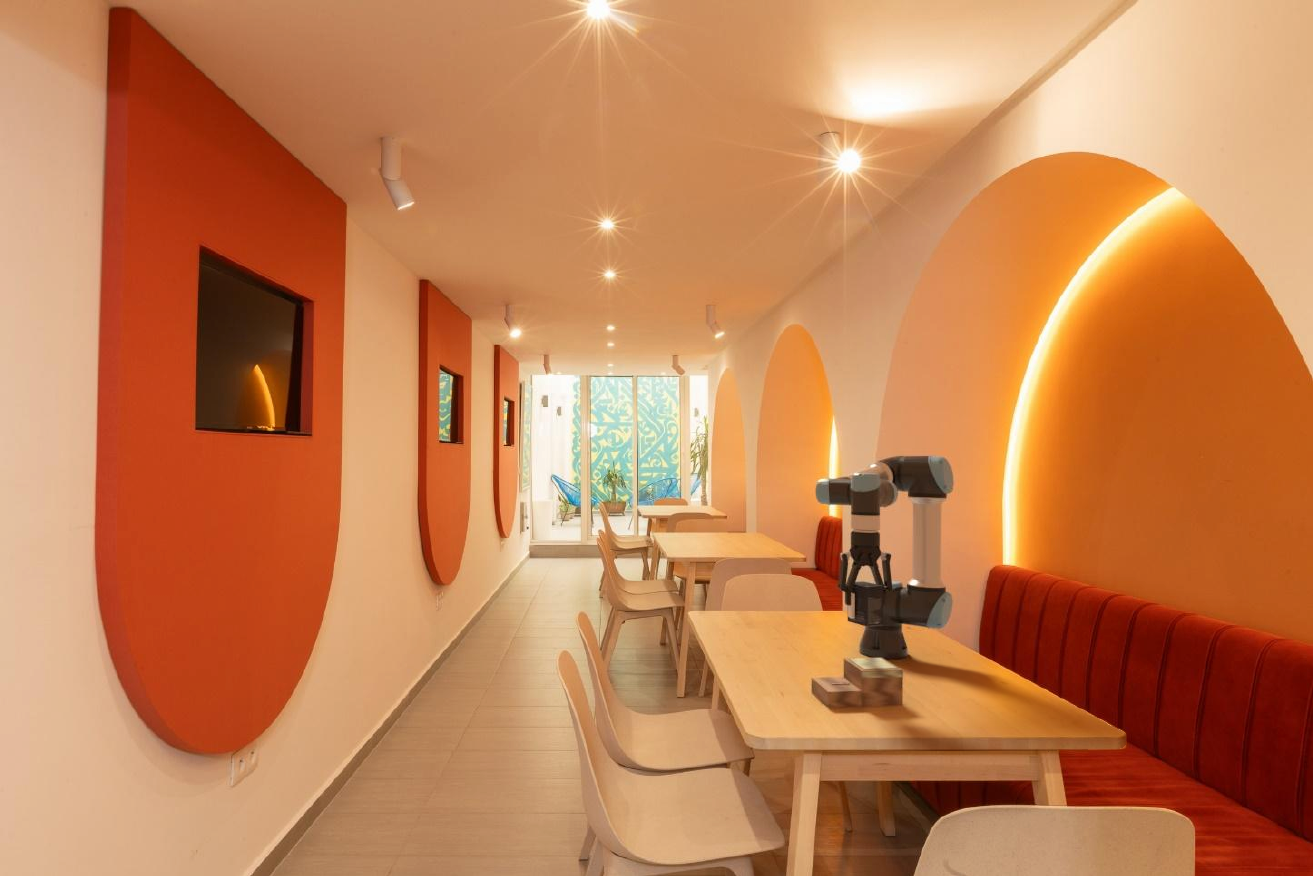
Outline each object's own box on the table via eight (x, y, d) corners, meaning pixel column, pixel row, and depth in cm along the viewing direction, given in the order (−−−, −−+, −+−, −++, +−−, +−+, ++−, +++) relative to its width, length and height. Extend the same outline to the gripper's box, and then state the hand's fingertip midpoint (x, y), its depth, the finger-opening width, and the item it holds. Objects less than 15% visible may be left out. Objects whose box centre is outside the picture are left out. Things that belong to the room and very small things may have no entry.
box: (883, 625, 193) (883, 585, 193) (866, 627, 190) (866, 586, 191) (863, 619, 200) (863, 580, 200) (846, 621, 198) (846, 581, 198)
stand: (882, 690, 200) (882, 656, 201) (902, 705, 188) (903, 669, 188) (811, 692, 198) (811, 658, 198) (828, 708, 185) (828, 671, 186)
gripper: (894, 529, 201) (894, 614, 200) (824, 529, 199) (824, 614, 198) (907, 532, 193) (906, 620, 193) (834, 532, 191) (833, 620, 190)
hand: (864, 617), depth 195 cm, fingers closed on box, 7 cm apart
